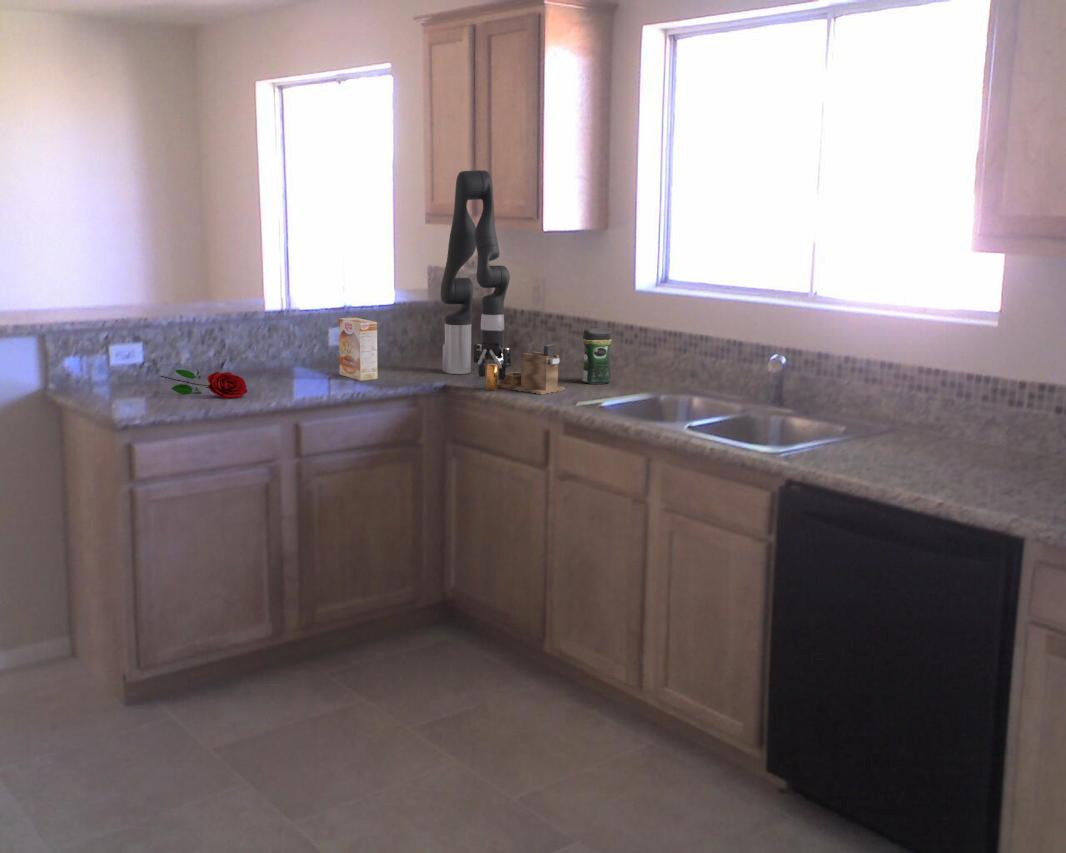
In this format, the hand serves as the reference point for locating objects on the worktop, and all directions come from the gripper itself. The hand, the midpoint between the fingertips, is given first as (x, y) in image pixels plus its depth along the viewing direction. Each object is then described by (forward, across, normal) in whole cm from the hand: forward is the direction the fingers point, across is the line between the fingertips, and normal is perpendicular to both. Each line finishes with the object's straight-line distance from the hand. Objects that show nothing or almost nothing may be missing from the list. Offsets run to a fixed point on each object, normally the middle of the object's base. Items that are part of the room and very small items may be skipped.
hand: (491, 378), depth 367 cm
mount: (+4, +6, +10) cm, 13 cm away
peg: (+4, 0, 0) cm, 4 cm away
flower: (+4, -53, -74) cm, 91 cm away
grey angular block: (-6, +12, +10) cm, 17 cm away
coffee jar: (+4, +15, +36) cm, 39 cm away
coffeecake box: (+4, -47, -16) cm, 50 cm away
